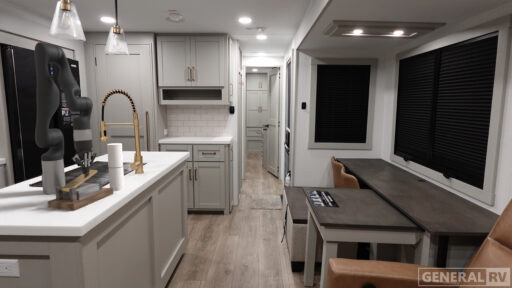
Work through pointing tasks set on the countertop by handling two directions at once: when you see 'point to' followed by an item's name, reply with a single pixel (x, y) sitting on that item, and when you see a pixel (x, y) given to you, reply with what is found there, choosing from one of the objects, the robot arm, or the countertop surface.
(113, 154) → the cylindrical container
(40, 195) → the countertop surface
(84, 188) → the stand
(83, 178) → the plate
